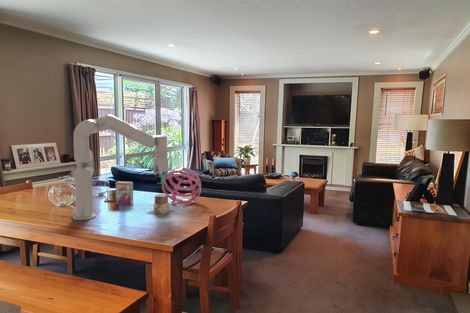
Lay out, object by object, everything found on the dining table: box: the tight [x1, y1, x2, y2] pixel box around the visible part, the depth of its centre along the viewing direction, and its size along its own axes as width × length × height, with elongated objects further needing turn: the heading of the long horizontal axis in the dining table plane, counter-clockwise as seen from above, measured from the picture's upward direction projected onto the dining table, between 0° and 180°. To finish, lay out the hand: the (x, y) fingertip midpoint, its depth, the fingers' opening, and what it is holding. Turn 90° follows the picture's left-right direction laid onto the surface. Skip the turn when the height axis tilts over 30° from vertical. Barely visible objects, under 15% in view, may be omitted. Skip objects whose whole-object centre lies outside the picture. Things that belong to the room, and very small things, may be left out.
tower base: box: [153, 201, 170, 214], centre depth 211 cm, size 7×7×6 cm
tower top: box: [154, 193, 169, 205], centre depth 210 cm, size 6×6×5 cm
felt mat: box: [145, 209, 176, 217], centre depth 211 cm, size 14×14×1 cm
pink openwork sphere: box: [161, 167, 202, 206], centre depth 234 cm, size 28×28×27 cm
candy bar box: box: [115, 180, 134, 206], centre depth 230 cm, size 11×5×16 cm, turn 84°
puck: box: [156, 173, 167, 185], centre depth 209 cm, size 5×5×6 cm
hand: (161, 182), depth 209 cm, fingers closed on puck, 5 cm apart
